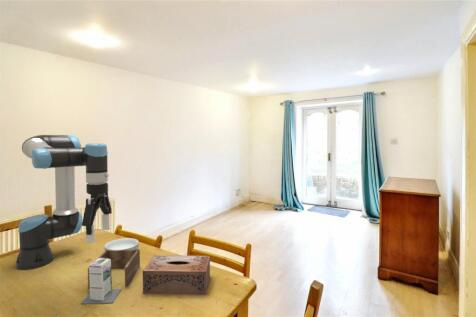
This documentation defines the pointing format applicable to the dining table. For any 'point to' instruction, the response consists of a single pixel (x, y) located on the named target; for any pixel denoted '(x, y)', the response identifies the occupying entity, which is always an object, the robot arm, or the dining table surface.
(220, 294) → the dining table surface
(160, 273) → the tissue box cover
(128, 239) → the cereal bowl
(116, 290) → the grey mat
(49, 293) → the dining table surface
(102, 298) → the syrup box
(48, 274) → the dining table surface
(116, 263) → the open-sided crate
